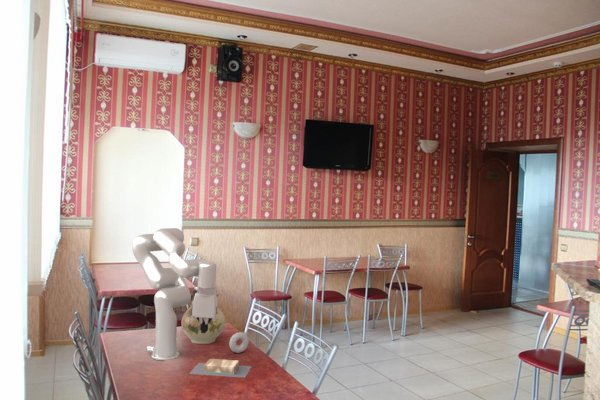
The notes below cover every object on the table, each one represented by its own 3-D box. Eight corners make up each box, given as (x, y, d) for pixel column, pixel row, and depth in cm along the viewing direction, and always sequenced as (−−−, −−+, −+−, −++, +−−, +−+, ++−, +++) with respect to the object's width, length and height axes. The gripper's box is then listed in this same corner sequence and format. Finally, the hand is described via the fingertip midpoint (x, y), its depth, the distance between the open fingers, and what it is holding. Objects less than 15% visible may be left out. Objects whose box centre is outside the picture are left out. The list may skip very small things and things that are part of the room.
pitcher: (213, 349, 252) (214, 298, 252) (170, 344, 259) (171, 294, 259) (231, 337, 274) (233, 290, 274) (191, 333, 280) (193, 287, 280)
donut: (230, 355, 244) (231, 334, 244) (227, 353, 247) (228, 332, 247) (249, 352, 249) (250, 331, 249) (246, 350, 252) (247, 330, 252)
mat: (188, 374, 217) (189, 373, 217) (198, 363, 231) (198, 362, 231) (245, 378, 214) (245, 377, 214) (251, 367, 228) (251, 366, 228)
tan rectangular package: (204, 365, 218) (234, 367, 217) (209, 358, 227) (238, 360, 226) (203, 372, 219) (233, 374, 217) (209, 365, 227) (238, 367, 226)
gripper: (186, 290, 220) (184, 333, 220) (220, 293, 218) (218, 336, 219) (192, 287, 227) (189, 328, 228) (225, 290, 226) (222, 331, 226)
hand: (203, 332), depth 223 cm, fingers closed
